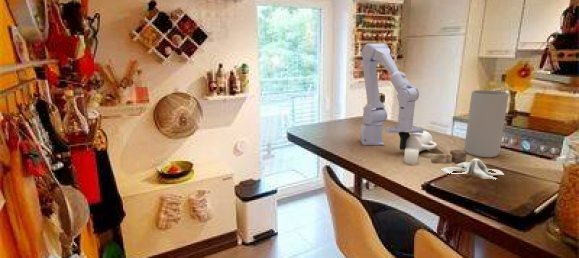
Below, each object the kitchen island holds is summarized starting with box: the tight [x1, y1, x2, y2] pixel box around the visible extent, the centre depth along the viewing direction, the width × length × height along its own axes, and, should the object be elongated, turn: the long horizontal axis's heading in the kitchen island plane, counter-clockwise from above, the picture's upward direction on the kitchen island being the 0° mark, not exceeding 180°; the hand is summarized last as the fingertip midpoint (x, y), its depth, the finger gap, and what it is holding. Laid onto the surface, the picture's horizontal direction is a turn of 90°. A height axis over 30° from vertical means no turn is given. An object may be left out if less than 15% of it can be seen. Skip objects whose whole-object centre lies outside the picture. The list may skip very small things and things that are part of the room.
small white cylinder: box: [403, 148, 420, 166], centre depth 124 cm, size 5×5×5 cm
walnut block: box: [449, 149, 468, 164], centre depth 125 cm, size 4×4×4 cm
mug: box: [406, 130, 438, 153], centre depth 135 cm, size 12×10×8 cm
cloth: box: [440, 158, 505, 180], centre depth 112 cm, size 22×19×6 cm
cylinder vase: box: [463, 89, 510, 158], centre depth 131 cm, size 12×12×25 cm
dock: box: [429, 140, 452, 164], centre depth 135 cm, size 7×23×3 cm, turn 178°
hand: (402, 149), depth 135 cm, fingers closed, pressing on mug
